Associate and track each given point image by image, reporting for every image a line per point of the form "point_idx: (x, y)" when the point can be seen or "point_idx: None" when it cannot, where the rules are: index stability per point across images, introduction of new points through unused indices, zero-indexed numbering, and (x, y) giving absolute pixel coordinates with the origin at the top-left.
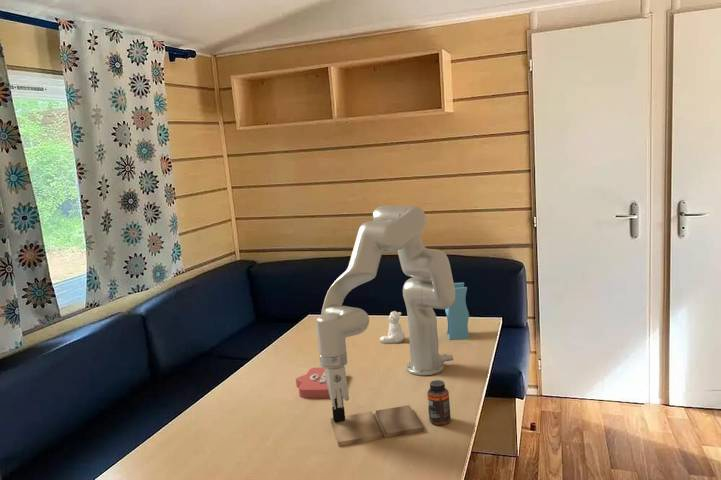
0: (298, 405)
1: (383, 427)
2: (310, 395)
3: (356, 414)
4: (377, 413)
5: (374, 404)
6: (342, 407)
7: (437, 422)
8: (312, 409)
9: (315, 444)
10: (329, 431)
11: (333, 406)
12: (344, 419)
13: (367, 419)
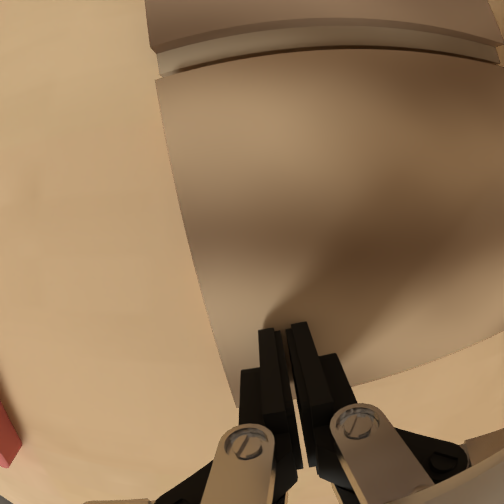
0: (75, 468)
1: (432, 29)
2: (7, 431)
3: (194, 221)
4: (209, 28)
5: (17, 102)
6: (382, 421)
7: None
8: (93, 443)
9: (445, 409)
10: (358, 385)
11: (337, 487)
12: (307, 328)
13: (319, 116)
